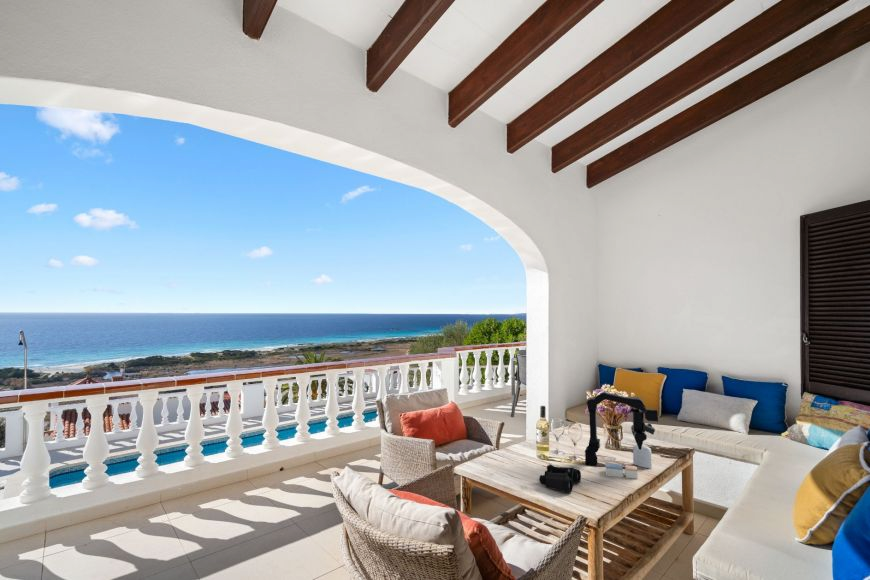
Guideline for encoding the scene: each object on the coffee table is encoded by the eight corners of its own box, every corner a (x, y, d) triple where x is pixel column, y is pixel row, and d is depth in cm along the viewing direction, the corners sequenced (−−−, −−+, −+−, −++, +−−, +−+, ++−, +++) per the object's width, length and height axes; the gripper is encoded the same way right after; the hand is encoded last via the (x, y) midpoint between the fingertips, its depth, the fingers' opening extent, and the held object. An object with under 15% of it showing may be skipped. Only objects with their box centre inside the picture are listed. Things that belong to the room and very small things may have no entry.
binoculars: (568, 496, 206) (568, 476, 206) (534, 486, 218) (534, 467, 218) (584, 482, 223) (583, 463, 223) (551, 474, 235) (551, 456, 235)
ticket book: (605, 475, 231) (605, 466, 232) (605, 471, 237) (605, 462, 237) (624, 477, 228) (624, 468, 228) (624, 473, 234) (623, 464, 234)
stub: (625, 477, 228) (625, 468, 228) (625, 474, 233) (624, 464, 233) (637, 478, 226) (637, 469, 226) (636, 475, 231) (636, 466, 231)
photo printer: (653, 467, 242) (652, 446, 243) (650, 469, 239) (649, 448, 240) (635, 463, 250) (634, 442, 250) (632, 464, 247) (631, 444, 247)
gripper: (656, 425, 227) (657, 453, 226) (651, 417, 245) (651, 443, 244) (634, 423, 231) (635, 451, 230) (630, 415, 248) (631, 441, 248)
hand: (638, 446), depth 238 cm, fingers open, 9 cm apart
